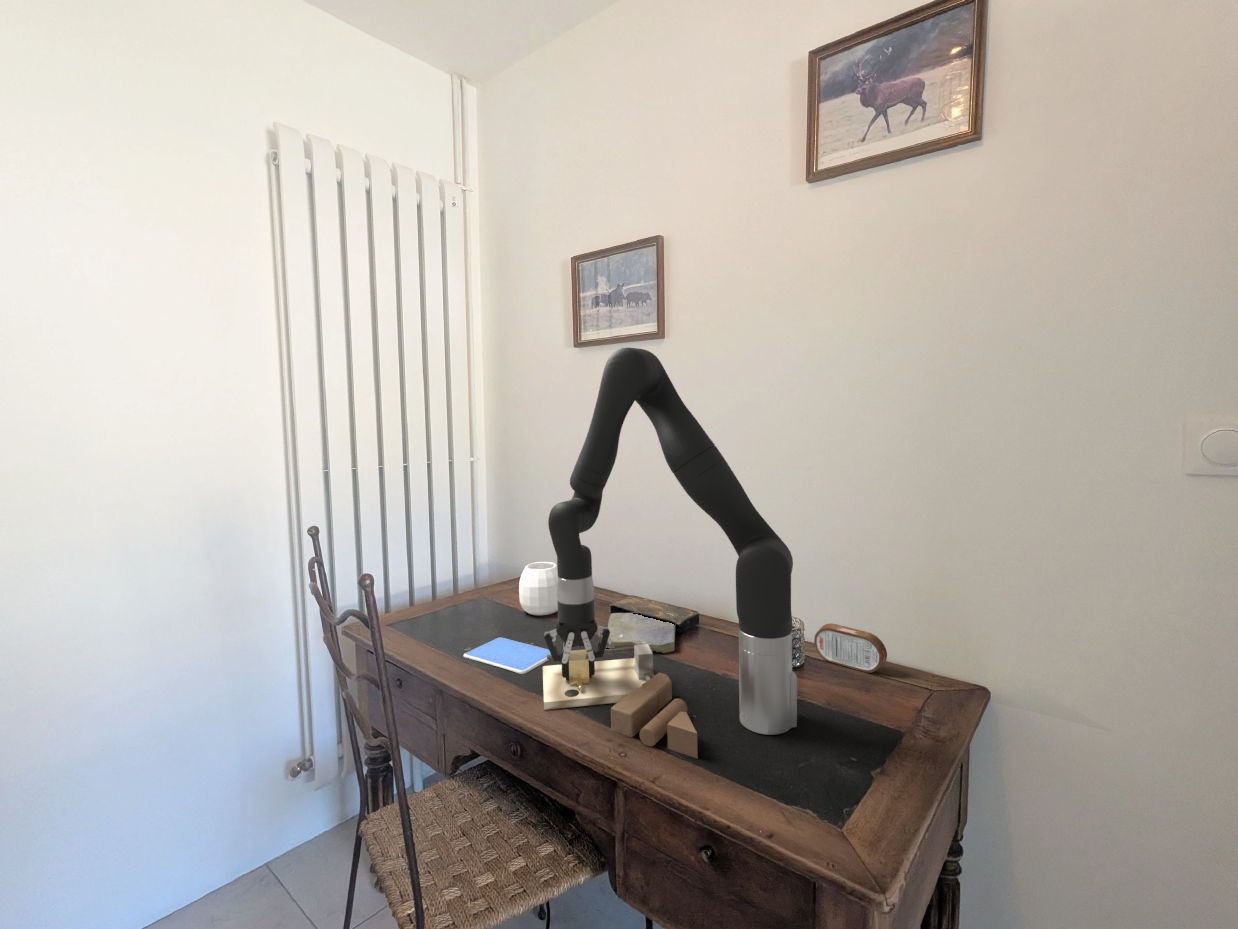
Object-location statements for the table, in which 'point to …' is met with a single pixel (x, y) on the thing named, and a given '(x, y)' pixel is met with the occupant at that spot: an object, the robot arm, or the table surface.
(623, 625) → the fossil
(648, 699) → the wooden block set
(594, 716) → the table surface
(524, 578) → the white faceted vase
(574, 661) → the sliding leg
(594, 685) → the cream panel
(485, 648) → the tablet computer
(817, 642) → the tin
